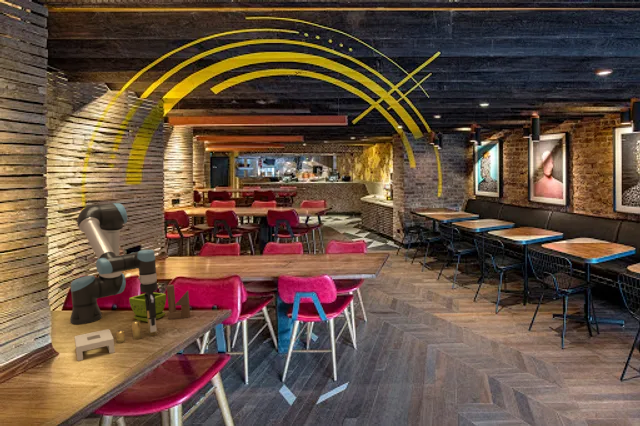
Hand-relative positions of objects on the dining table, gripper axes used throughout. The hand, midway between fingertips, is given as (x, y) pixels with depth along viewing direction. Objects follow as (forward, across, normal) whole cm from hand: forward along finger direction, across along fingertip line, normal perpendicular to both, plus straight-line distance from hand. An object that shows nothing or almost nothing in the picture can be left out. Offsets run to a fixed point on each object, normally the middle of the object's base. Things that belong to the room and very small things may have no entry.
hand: (152, 330), depth 202 cm
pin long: (+2, 0, 0) cm, 2 cm away
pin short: (+2, 0, -14) cm, 14 cm away
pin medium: (+2, 0, -7) cm, 7 cm away
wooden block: (+2, -18, +17) cm, 25 cm away
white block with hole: (+2, +4, -25) cm, 25 cm away
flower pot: (+2, -28, +4) cm, 28 cm away
